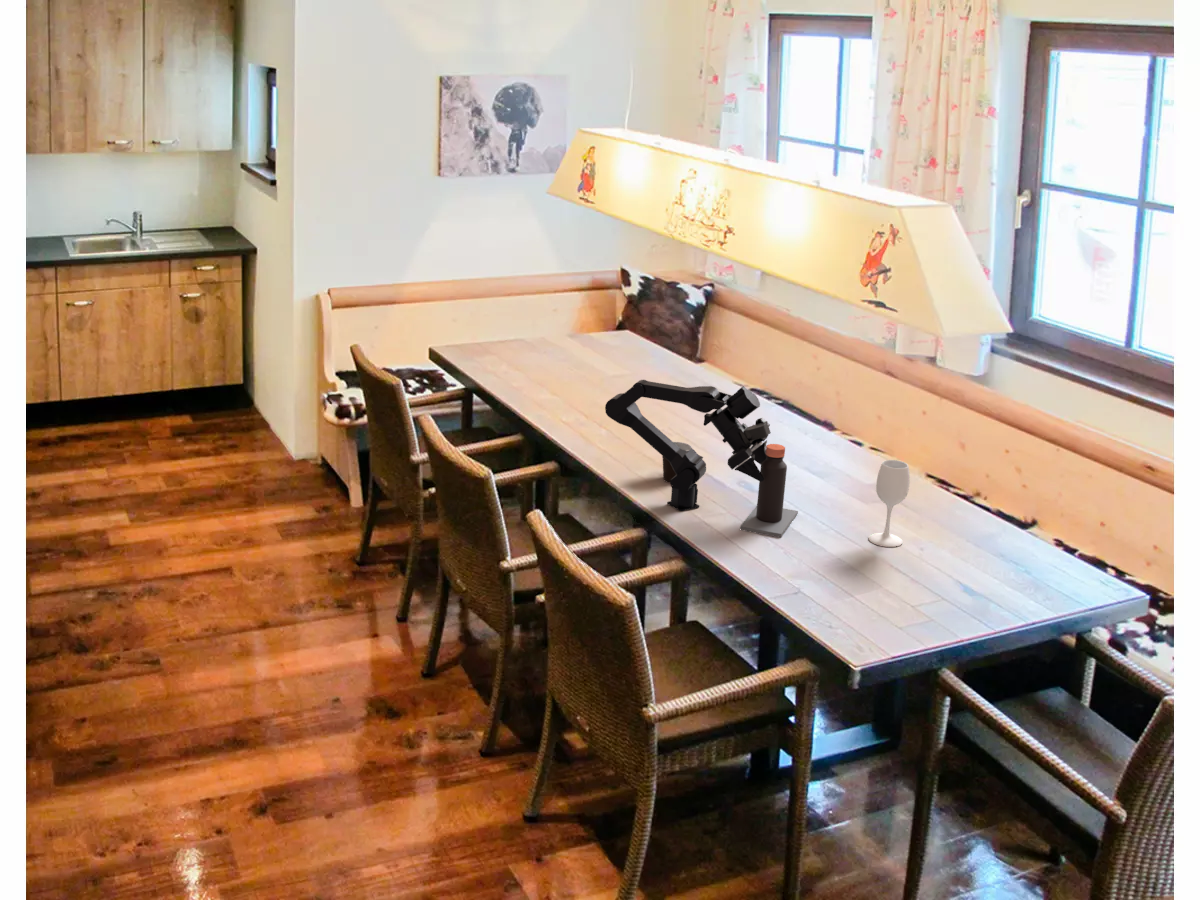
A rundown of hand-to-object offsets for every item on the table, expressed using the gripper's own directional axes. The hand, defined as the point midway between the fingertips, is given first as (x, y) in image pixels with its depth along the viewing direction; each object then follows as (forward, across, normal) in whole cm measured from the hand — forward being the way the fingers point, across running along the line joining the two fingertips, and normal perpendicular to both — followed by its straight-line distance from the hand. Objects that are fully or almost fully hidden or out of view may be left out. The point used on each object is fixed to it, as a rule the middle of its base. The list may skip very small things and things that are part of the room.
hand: (767, 475), depth 340 cm
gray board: (+10, 0, +8) cm, 13 cm away
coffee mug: (-12, +20, +31) cm, 39 cm away
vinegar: (+10, 0, +7) cm, 12 cm away
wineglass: (+32, +2, -14) cm, 35 cm away
